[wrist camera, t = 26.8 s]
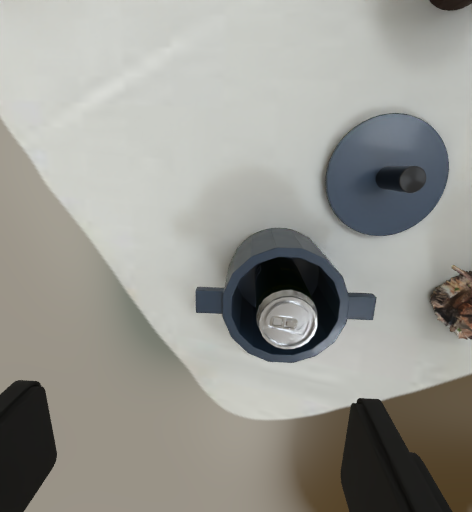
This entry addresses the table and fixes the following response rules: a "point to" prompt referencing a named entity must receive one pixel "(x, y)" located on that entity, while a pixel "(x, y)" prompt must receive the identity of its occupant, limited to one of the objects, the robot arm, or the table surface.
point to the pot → (315, 278)
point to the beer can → (284, 304)
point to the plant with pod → (455, 303)
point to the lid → (387, 174)
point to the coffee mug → (451, 4)
